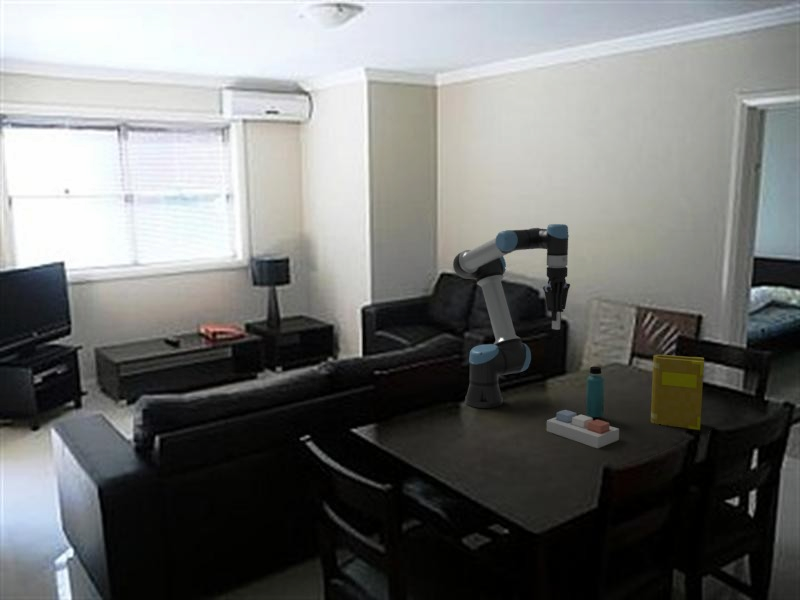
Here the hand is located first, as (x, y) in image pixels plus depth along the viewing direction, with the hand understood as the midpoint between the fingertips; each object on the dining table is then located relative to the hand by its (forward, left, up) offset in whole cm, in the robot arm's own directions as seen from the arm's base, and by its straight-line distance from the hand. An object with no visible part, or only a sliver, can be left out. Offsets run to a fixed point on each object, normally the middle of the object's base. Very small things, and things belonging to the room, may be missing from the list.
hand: (555, 328), depth 258 cm
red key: (+26, -8, -33) cm, 43 cm away
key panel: (+19, -8, -34) cm, 40 cm away
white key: (+19, -8, -33) cm, 39 cm away
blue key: (+12, -8, -33) cm, 36 cm away
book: (+34, +27, -35) cm, 56 cm away
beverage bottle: (+11, +10, -35) cm, 38 cm away
